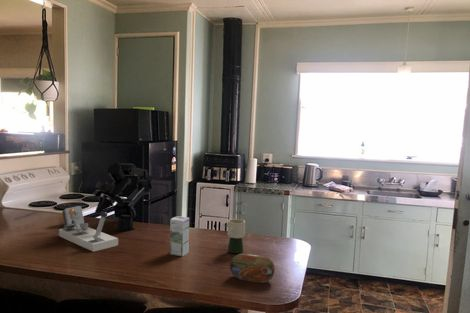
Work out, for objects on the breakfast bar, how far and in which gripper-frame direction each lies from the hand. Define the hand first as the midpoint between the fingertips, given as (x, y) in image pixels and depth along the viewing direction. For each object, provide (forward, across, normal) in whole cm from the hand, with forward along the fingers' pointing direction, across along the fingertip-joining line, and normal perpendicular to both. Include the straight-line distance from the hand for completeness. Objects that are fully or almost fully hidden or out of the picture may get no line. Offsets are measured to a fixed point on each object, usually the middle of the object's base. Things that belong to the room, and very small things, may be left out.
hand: (95, 212), depth 157 cm
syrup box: (0, +43, +17) cm, 46 cm away
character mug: (-12, +58, +29) cm, 66 cm away
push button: (+8, -5, +3) cm, 9 cm away
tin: (-1, +79, +18) cm, 81 cm away
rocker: (+10, -9, -1) cm, 14 cm away
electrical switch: (+7, -27, +9) cm, 29 cm away
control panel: (+12, +2, +4) cm, 12 cm away
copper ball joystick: (+10, 0, -1) cm, 10 cm away
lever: (+10, +14, 0) cm, 17 cm away
